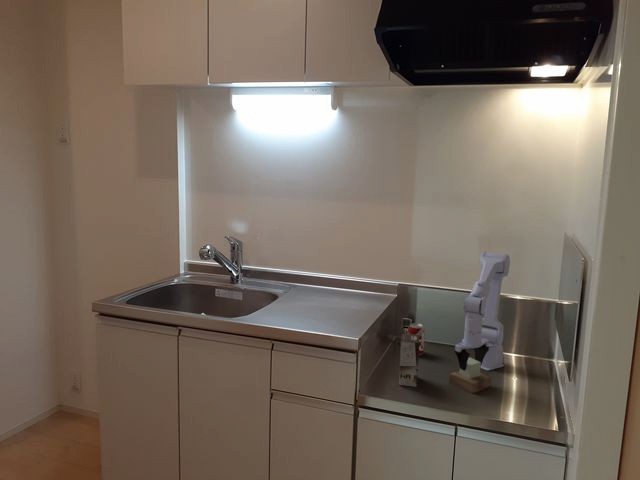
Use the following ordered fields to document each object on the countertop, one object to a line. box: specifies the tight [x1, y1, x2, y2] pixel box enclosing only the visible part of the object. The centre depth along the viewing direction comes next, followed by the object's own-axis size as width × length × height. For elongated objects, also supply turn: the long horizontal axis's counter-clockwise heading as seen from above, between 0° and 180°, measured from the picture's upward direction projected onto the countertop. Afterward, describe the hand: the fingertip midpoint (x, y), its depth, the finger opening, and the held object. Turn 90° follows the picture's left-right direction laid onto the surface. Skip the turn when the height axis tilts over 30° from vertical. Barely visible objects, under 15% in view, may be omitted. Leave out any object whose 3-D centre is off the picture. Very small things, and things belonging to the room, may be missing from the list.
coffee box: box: [398, 333, 420, 388], centre depth 188 cm, size 9×6×16 cm
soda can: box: [407, 322, 426, 356], centre depth 214 cm, size 7×7×12 cm
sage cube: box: [458, 357, 481, 379], centre depth 186 cm, size 5×5×5 cm
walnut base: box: [448, 370, 492, 394], centre depth 186 cm, size 10×10×4 cm
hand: (470, 367), depth 186 cm, fingers open, 7 cm apart
